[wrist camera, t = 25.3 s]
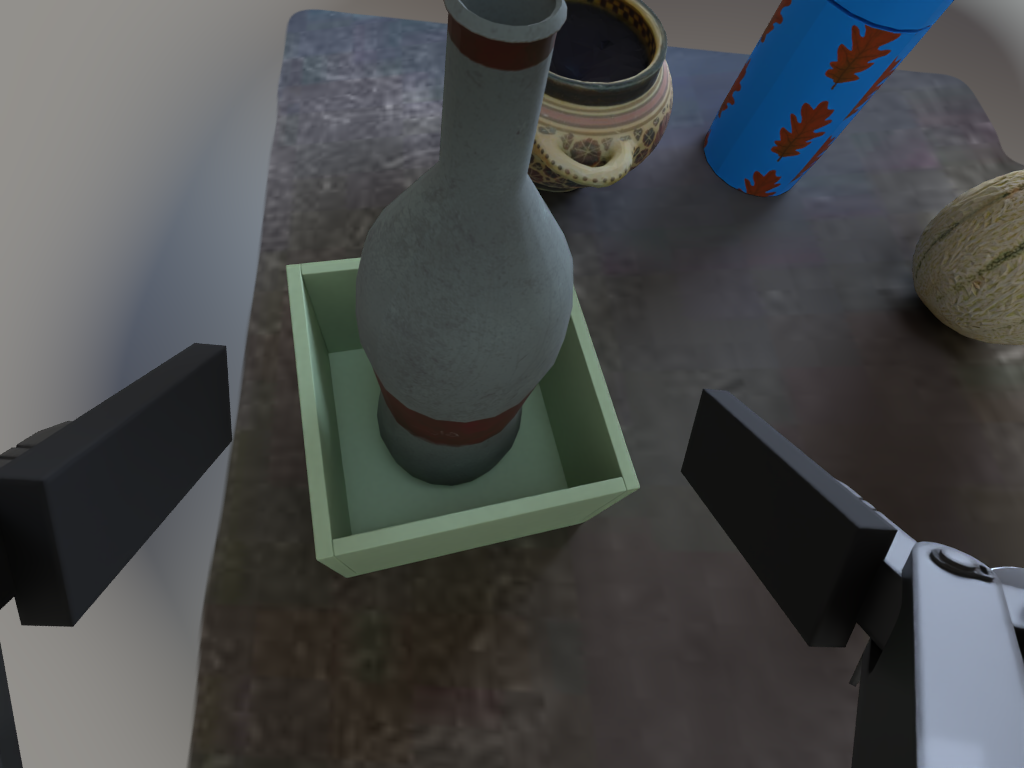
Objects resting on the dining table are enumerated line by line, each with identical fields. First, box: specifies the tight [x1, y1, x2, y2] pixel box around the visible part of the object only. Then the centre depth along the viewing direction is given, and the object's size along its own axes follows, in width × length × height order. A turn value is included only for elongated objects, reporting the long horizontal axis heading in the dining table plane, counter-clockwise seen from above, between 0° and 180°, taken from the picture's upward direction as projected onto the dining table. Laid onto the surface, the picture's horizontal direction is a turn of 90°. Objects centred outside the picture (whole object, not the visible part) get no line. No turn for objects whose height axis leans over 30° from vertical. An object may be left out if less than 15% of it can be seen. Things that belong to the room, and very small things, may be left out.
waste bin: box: [286, 258, 640, 578], centre depth 35 cm, size 17×17×11 cm
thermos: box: [704, 0, 954, 197], centre depth 46 cm, size 11×11×25 cm
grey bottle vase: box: [355, 0, 573, 486], centre depth 25 cm, size 9×9×30 cm
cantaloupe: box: [912, 170, 1024, 345], centre depth 46 cm, size 15×15×15 cm
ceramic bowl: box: [527, 0, 673, 192], centre depth 47 cm, size 24×18×15 cm
